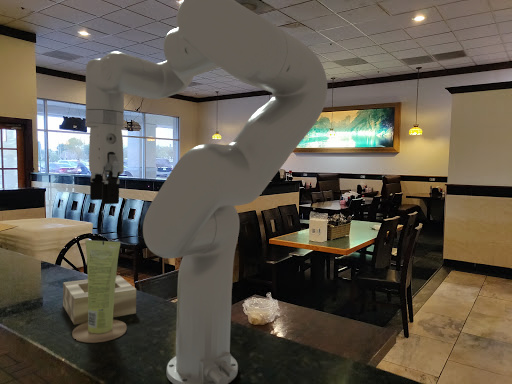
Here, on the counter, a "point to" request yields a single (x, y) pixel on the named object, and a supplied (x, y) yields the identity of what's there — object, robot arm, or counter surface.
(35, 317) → the counter surface
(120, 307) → the socket block
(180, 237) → the robot arm
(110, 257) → the tube
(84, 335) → the disc
